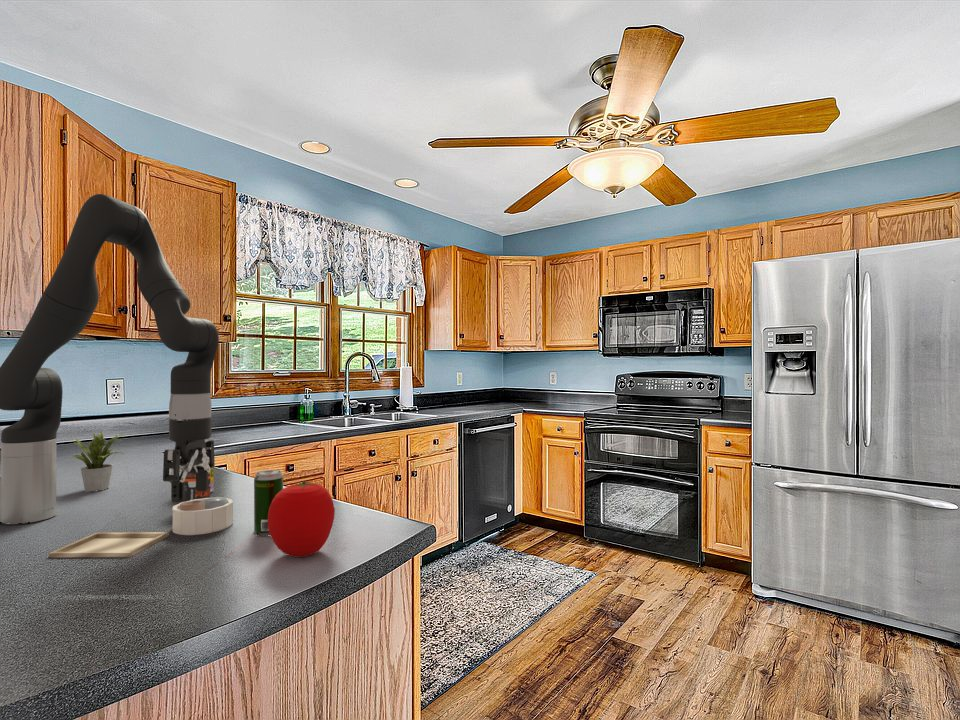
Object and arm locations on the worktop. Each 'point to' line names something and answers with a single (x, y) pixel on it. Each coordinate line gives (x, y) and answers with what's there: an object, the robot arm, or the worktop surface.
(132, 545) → the parts tray
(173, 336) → the robot arm
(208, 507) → the gray metal cylinder
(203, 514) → the bowl
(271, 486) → the beer can
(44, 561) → the worktop surface
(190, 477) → the supplement bottle
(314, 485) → the red round fruit
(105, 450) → the house plant
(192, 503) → the beige cylinder
